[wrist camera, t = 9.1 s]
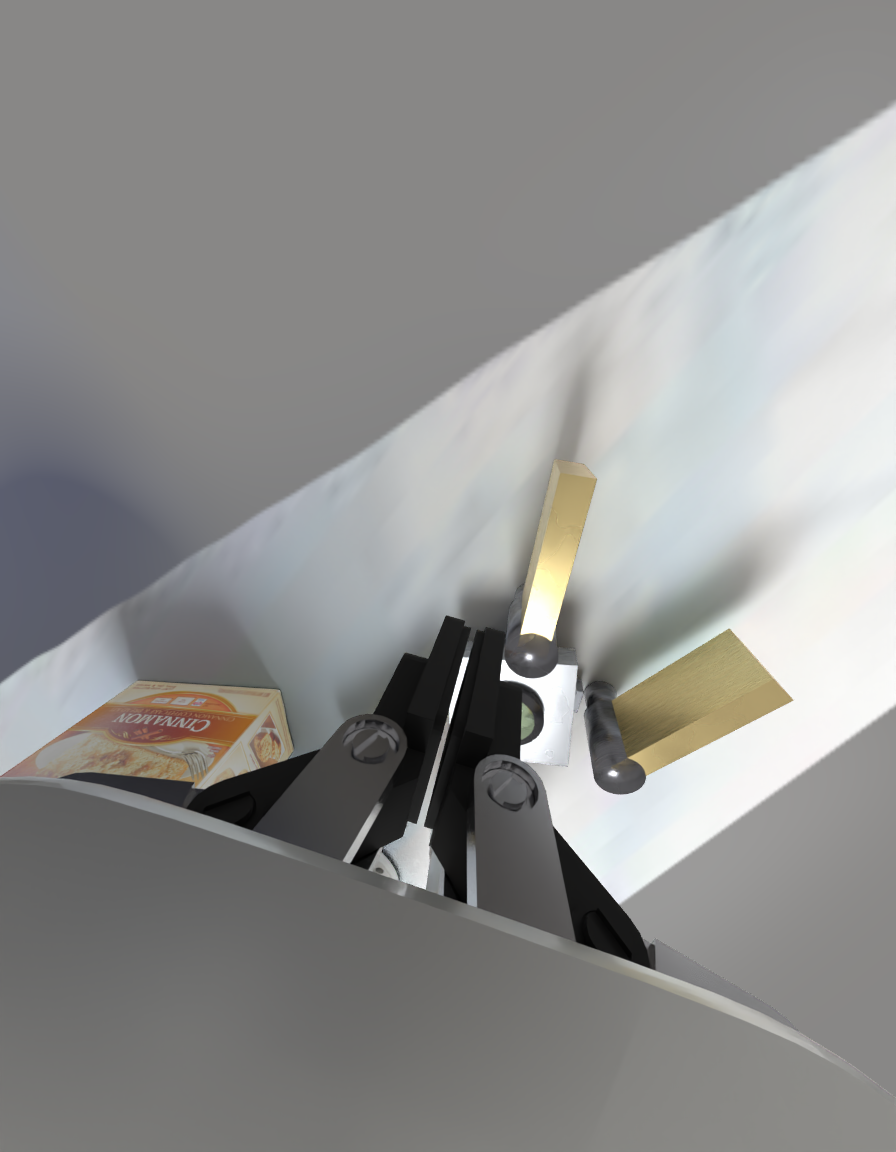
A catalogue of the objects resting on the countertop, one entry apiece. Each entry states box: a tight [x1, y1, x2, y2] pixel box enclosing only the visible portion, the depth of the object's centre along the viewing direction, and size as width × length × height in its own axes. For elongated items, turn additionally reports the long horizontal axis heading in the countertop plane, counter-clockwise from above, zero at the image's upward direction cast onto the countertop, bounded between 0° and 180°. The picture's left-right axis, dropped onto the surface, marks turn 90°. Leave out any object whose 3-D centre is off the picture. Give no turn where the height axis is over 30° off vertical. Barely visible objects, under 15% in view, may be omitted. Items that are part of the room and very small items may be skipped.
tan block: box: [504, 459, 597, 679], centre depth 24 cm, size 11×3×8 cm, turn 172°
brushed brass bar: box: [584, 629, 793, 794], centre depth 26 cm, size 11×3×8 cm, turn 136°
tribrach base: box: [449, 639, 584, 767], centre depth 29 cm, size 9×10×5 cm
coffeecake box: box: [0, 681, 294, 789], centre depth 30 cm, size 15×7×20 cm, turn 93°
